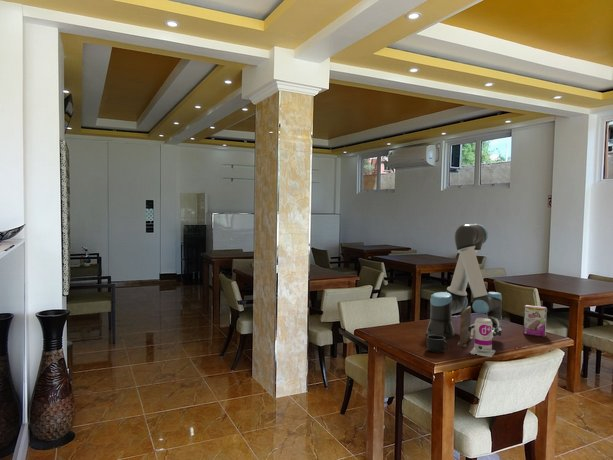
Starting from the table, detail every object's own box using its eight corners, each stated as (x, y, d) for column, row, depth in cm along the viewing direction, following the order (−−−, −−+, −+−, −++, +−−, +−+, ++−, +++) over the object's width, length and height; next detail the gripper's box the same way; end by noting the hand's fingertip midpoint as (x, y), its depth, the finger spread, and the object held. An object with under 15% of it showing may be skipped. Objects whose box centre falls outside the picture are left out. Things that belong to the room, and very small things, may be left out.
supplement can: (493, 352, 218) (494, 321, 217) (475, 351, 219) (476, 320, 219) (489, 347, 226) (490, 317, 225) (472, 346, 227) (473, 316, 227)
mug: (422, 350, 226) (422, 336, 226) (434, 347, 231) (435, 333, 231) (441, 356, 216) (441, 342, 216) (453, 353, 221) (454, 339, 221)
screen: (457, 346, 233) (457, 311, 233) (465, 338, 248) (466, 305, 248) (465, 347, 231) (465, 312, 230) (472, 339, 246) (473, 306, 246)
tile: (470, 353, 221) (470, 351, 221) (474, 348, 230) (474, 346, 230) (491, 357, 216) (491, 355, 216) (495, 351, 224) (495, 350, 224)
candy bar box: (523, 334, 257) (523, 306, 256) (524, 332, 261) (525, 304, 260) (545, 337, 251) (546, 308, 250) (546, 335, 255) (546, 306, 254)
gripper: (511, 334, 232) (504, 345, 213) (469, 328, 243) (458, 338, 224) (512, 320, 232) (504, 330, 212) (469, 315, 243) (459, 323, 224)
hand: (481, 334), depth 218 cm, fingers closed on supplement can, 8 cm apart
